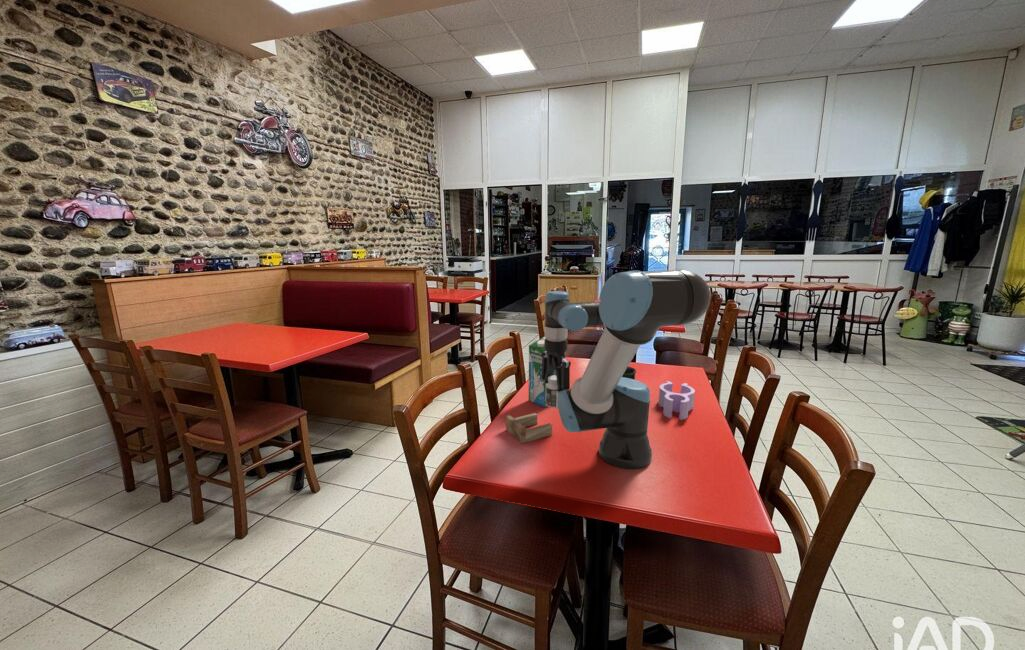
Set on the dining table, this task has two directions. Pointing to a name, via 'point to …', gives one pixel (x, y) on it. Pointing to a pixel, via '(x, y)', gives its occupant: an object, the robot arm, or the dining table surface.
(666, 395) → the clip
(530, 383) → the milk carton
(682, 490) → the dining table surface
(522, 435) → the channel
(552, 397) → the pill bottle
